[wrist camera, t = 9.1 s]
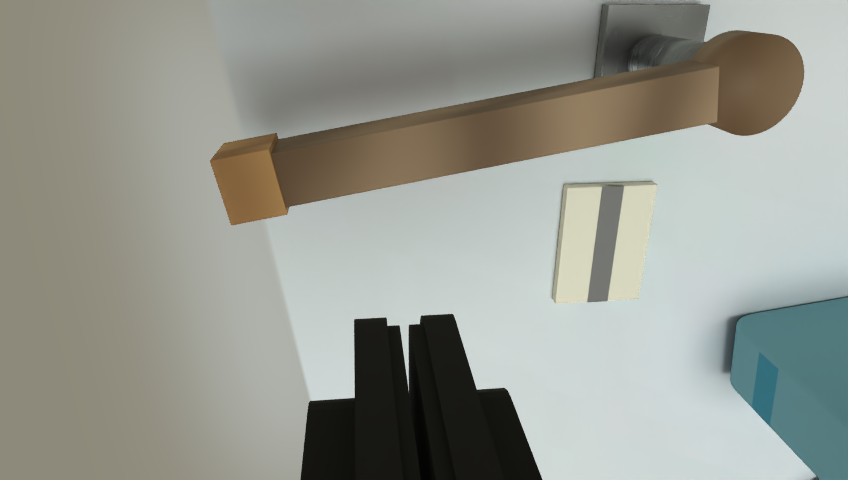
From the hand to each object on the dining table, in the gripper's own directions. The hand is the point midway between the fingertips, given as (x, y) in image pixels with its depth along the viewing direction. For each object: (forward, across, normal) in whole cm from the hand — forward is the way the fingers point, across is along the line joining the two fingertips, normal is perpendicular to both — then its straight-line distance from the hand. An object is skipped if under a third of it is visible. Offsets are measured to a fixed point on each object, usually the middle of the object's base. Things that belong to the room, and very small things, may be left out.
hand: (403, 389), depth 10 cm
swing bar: (+14, -5, -2) cm, 15 cm away
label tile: (+21, -13, +7) cm, 25 cm away
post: (+21, -14, -3) cm, 25 cm away
